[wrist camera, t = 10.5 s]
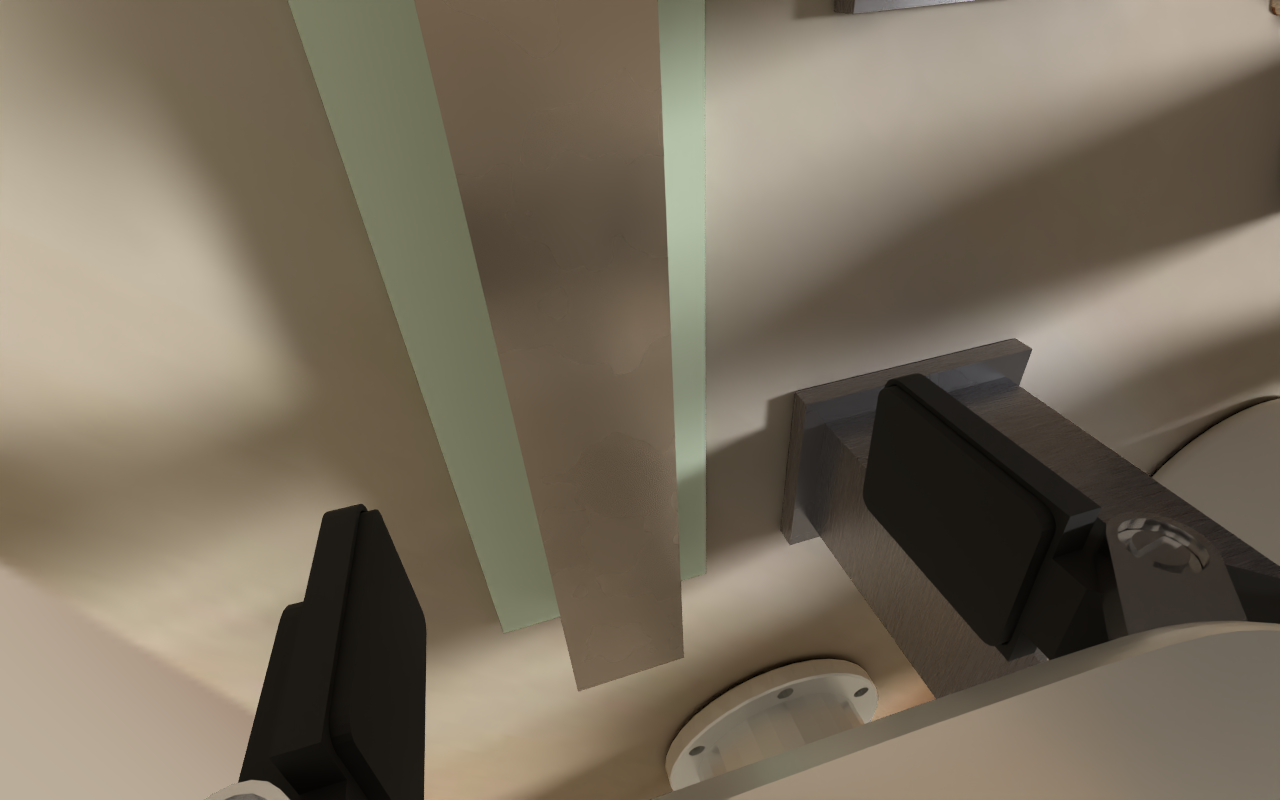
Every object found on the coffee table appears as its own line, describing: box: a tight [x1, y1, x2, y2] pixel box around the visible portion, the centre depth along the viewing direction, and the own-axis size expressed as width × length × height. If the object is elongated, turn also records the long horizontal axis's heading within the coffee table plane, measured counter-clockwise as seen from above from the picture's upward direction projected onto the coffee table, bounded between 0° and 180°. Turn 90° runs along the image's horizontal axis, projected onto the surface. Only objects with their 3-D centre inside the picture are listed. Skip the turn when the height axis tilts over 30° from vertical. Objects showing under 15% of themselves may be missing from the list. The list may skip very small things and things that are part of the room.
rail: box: [414, 0, 684, 691], centre depth 14 cm, size 24×4×4 cm, turn 3°
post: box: [781, 339, 1280, 699], centre depth 18 cm, size 7×9×14 cm
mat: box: [288, 0, 706, 633], centre depth 16 cm, size 26×8×1 cm, turn 3°
